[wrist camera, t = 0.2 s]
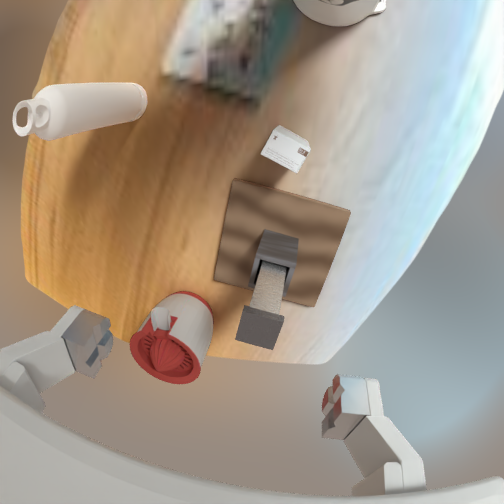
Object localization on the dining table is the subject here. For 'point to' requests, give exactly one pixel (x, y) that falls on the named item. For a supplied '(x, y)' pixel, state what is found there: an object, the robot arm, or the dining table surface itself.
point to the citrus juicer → (174, 338)
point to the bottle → (80, 108)
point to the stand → (279, 239)
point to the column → (264, 308)
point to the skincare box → (286, 148)
